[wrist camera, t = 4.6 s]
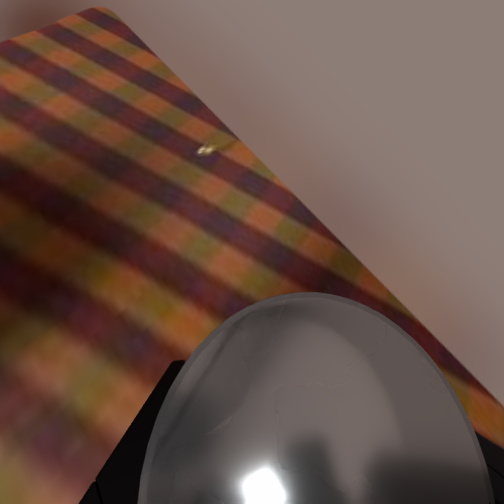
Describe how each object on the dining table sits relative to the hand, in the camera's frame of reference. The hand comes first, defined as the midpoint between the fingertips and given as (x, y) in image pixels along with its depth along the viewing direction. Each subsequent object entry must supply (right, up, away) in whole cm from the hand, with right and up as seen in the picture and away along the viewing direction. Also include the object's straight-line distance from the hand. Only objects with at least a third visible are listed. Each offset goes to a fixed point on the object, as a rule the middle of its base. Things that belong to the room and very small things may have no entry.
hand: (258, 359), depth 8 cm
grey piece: (-1, -4, +5) cm, 7 cm away
